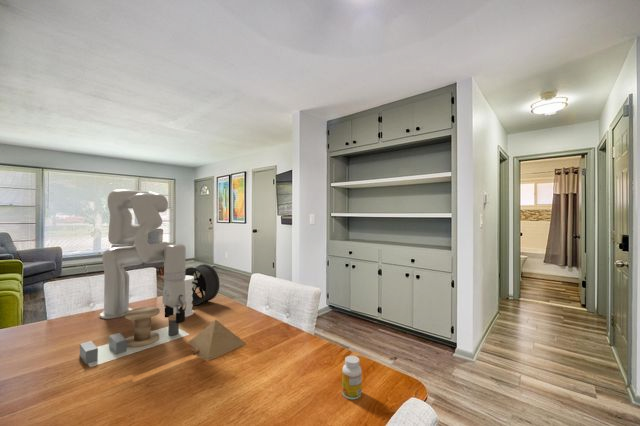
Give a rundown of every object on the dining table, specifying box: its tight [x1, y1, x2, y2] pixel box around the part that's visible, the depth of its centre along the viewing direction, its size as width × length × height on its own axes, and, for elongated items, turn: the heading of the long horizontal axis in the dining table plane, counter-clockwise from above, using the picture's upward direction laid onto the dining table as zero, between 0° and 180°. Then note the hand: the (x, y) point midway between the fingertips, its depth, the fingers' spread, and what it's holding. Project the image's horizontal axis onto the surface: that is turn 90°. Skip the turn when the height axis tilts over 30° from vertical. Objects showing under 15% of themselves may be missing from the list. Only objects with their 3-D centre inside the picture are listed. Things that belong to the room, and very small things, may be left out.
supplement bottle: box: [341, 355, 363, 400], centre depth 79 cm, size 5×5×10 cm
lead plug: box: [167, 315, 180, 336], centre depth 111 cm, size 4×4×7 cm
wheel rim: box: [185, 263, 220, 306], centre depth 152 cm, size 20×9×20 cm, turn 67°
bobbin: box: [124, 306, 161, 348], centre depth 105 cm, size 11×11×11 cm
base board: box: [87, 325, 190, 368], centre depth 103 cm, size 14×31×1 cm, turn 141°
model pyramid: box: [187, 319, 247, 362], centre depth 105 cm, size 17×17×10 cm
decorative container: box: [173, 275, 195, 318], centre depth 133 cm, size 12×12×18 cm
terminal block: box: [79, 332, 127, 365], centre depth 95 cm, size 8×11×4 cm
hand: (174, 319), depth 111 cm, fingers open, 9 cm apart
